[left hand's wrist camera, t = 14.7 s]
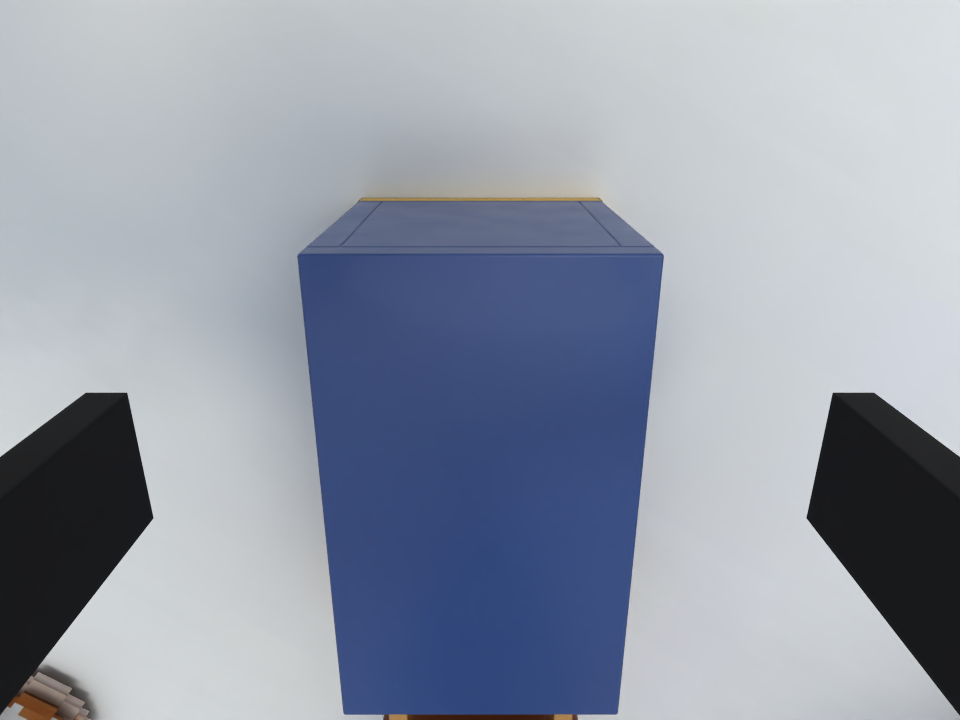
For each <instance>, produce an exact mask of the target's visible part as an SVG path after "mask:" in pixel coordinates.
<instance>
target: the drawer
mask: <svg viewBox="0 0 960 720" xmlns="http://www.w3.org/2000/svg"><path fill="white" fill-rule="evenodd" d="M383 720H578V717H577V714H486V715H384V718H383Z"/></svg>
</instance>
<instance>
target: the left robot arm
mask: <svg viewBox="0 0 960 720" xmlns="http://www.w3.org/2000/svg"><path fill="white" fill-rule="evenodd" d="M152 519H153V514H152V509H151V504H150V500H149V495H148V490H147V485H146V481H145V476H144V471H143V466H142V461H141V457H140V452H139V447H138V442H137V438H136V433H135V428H134V423H133V419H132V414H131V409H130V404H129V399H128V395H127V393H85V394H84V395H82V396H81V397H80V398H78V399H77V400H76V401H74V402H73V403H72V404H70V405H69V406H68V407H66V408H65V409H64V410H62V411H61V412H60V413H58V414H57V415H56V416H54V417H53V418H52V419H50V420H49V421H48V422H46V423H45V424H44V425H42V426H41V427H40V428H38V429H37V430H36V431H34V432H33V433H32V434H30V435H29V436H28V437H26V438H25V439H24V440H22V441H21V442H20V443H18V444H17V445H16V446H14V447H13V448H12V449H10V450H9V451H8V452H6V453H5V454H4V455H2V456H1V457H0V715H1V714H2V713H3V711H4V710H5V709H6V707H7V706H8V705H9V704H10V702H11V701H12V700H13V698H14V697H15V696H16V695H17V693H18V692H19V691H20V689H21V688H22V687H23V686H24V684H25V683H26V682H27V680H28V679H29V678H30V676H31V675H32V674H33V673H34V671H35V670H36V669H37V667H38V666H39V665H40V664H41V662H42V661H43V660H44V658H45V657H46V656H47V655H48V653H49V652H50V651H51V649H52V648H53V647H54V646H55V644H56V643H57V642H58V640H59V639H60V638H61V637H62V635H63V634H64V633H65V631H66V630H67V629H68V628H69V626H70V625H71V624H72V622H73V621H74V620H75V619H76V617H77V616H78V615H79V613H80V612H81V611H82V610H83V608H84V607H85V606H86V604H87V603H88V602H89V600H90V599H91V598H92V597H93V595H94V594H95V593H96V591H97V590H98V589H99V588H100V586H101V585H102V584H103V582H104V581H105V580H106V579H107V577H108V576H109V575H110V573H111V572H112V571H113V570H114V568H115V567H116V566H117V564H118V563H119V562H120V561H121V559H122V558H123V557H124V555H125V554H126V553H127V552H128V550H129V549H130V548H131V546H132V545H133V544H134V543H135V541H136V540H137V539H138V537H139V536H140V535H141V534H142V532H143V531H144V530H145V528H146V527H147V526H148V524H149V523H150V522H151V521H152ZM807 519H808V521H809V522H810V523H811V524H812V526H813V527H814V528H815V530H816V531H817V532H818V534H819V535H820V536H821V537H822V539H823V540H824V541H825V543H826V544H827V545H828V546H829V548H830V549H831V550H832V552H833V553H834V554H835V555H836V557H837V558H838V559H839V561H840V562H841V563H842V564H843V566H844V567H845V568H846V570H847V571H848V572H849V573H850V575H851V576H852V577H853V579H854V580H855V581H856V582H857V584H858V585H859V586H860V588H861V589H862V590H863V591H864V593H865V594H866V595H867V597H868V598H869V599H870V600H871V602H872V603H873V604H874V606H875V607H876V608H877V610H878V611H879V612H880V613H881V615H882V616H883V617H884V619H885V620H886V621H887V622H888V624H889V625H890V626H891V628H892V629H893V630H894V631H895V633H896V634H897V635H898V637H899V638H900V639H901V640H902V642H903V643H904V644H905V646H906V647H907V648H908V649H909V651H910V652H911V653H912V655H913V656H914V657H915V658H916V660H917V661H918V662H919V664H920V665H921V666H922V667H923V669H924V670H925V671H926V673H927V674H928V675H929V676H930V678H931V679H932V680H933V682H934V683H935V684H936V686H937V687H938V688H939V689H940V691H941V692H942V693H943V695H944V696H945V697H946V698H947V700H948V701H949V702H950V704H951V705H952V706H953V707H954V709H955V710H956V711H957V713H958V714H959V715H960V457H959V456H958V455H956V454H955V453H954V452H952V451H951V450H950V449H948V448H947V447H946V446H944V445H943V444H942V443H940V442H939V441H938V440H936V439H935V438H934V437H932V436H931V435H930V434H928V433H927V432H926V431H924V430H923V429H922V428H920V427H919V426H918V425H916V424H915V423H914V422H912V421H911V420H910V419H908V418H907V417H906V416H904V415H903V414H902V413H900V412H899V411H898V410H896V409H895V408H894V407H892V406H891V405H890V404H888V403H887V402H886V401H884V400H883V399H882V398H880V397H879V396H878V395H876V394H875V393H833V395H832V399H831V404H830V409H829V414H828V419H827V423H826V428H825V433H824V438H823V442H822V447H821V452H820V457H819V461H818V466H817V471H816V476H815V481H814V485H813V490H812V495H811V500H810V504H809V509H808V514H807Z"/></svg>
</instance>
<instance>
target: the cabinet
mask: <svg viewBox="0 0 960 720" xmlns="http://www.w3.org/2000/svg"><path fill="white" fill-rule="evenodd" d="M663 258H664V256H663V254H662V253H661V252H660V251H659V250H658V249H656V248H655V247H654V246H653V245H652V244H651V243H649V242H648V241H647V240H646V239H645V238H644V237H642V236H641V235H640V234H639V233H638V232H637V231H635V230H634V229H633V228H632V227H631V226H630V225H628V224H627V223H626V222H625V221H624V220H623V219H621V218H620V217H619V216H618V215H617V214H616V213H614V212H613V211H612V210H611V209H610V208H609V207H607V206H606V205H605V204H604V203H603V202H602V200H601V199H600V198H361V199H360V200H359V202H358V203H357V204H356V205H355V206H353V207H352V208H351V209H350V210H349V211H348V212H346V213H345V214H344V215H343V216H342V217H341V218H339V219H338V220H337V221H336V222H335V223H334V224H333V225H331V226H330V227H329V228H328V229H327V230H326V231H324V232H323V233H322V234H321V235H320V236H319V237H317V238H316V239H315V240H314V241H313V242H312V243H310V244H309V245H308V246H307V247H306V248H305V249H304V250H303V251H301V252H300V253H299V254H298V266H299V276H300V286H301V296H302V306H303V316H304V326H305V336H306V346H307V356H308V366H309V375H310V385H311V395H312V405H313V415H314V425H315V435H316V445H317V455H318V465H319V475H320V485H321V495H322V504H323V514H324V524H325V534H326V544H327V554H328V564H329V574H330V584H331V594H332V604H333V614H334V623H335V633H336V643H337V653H338V663H339V673H340V683H341V693H342V703H343V712H344V714H345V715H486V714H617V713H618V706H619V696H620V686H621V676H622V666H623V656H624V646H625V636H626V626H627V616H628V607H629V597H630V587H631V577H632V567H633V557H634V547H635V537H636V527H637V517H638V507H639V497H640V487H641V477H642V467H643V457H644V447H645V437H646V427H647V418H648V408H649V398H650V388H651V378H652V368H653V358H654V348H655V338H656V328H657V318H658V308H659V298H660V288H661V278H662V268H663Z"/></svg>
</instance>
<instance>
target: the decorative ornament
mask: <svg viewBox="0 0 960 720" xmlns="http://www.w3.org/2000/svg"><path fill="white" fill-rule="evenodd" d="M71 690H72V688H70V687H68V686H66V685H64V684H62V683H60V682H58V681H56V680H54V679H52V678H50V677H48V676H46V675H44V674H42V673H40V672H38V673H37V674H36V676H35V677H33V676H30V678H29V679H28V680H27V682H26V683H25V684H24V686H23V687H22V688H21V689H20V691H19V692H18V693H17V695H16V696H15V697H14V698H13V700H12V701H11V702H10V704H9V705H8V706H7V707H6V709H5V710H4V711H3V713H2V714H1V715H0V720H92V719H90V718H88V717H86V716H87V715H88V713H89V711H88V710H86V709H84V708H82V706H83V705H84V703H85V702H84V701H82V700H80V699H78V698H76V697H74V696H72V695H70V694H69V693H70V691H71Z"/></svg>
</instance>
